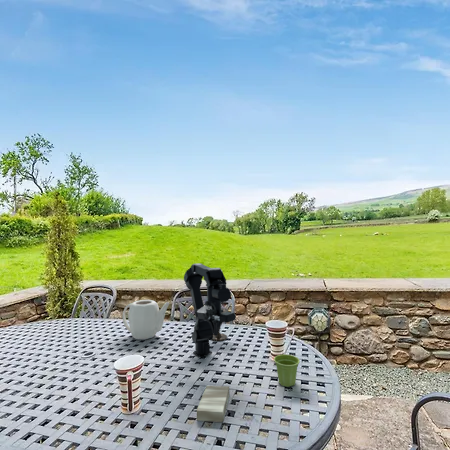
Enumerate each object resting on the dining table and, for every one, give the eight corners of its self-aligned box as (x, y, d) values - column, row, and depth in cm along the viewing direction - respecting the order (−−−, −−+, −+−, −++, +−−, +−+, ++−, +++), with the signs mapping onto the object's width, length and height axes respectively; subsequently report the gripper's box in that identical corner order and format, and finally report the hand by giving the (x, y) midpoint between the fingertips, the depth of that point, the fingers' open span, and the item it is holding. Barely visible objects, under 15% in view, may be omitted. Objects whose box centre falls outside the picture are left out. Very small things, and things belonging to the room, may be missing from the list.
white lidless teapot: (166, 342, 158) (165, 305, 158) (116, 341, 161) (116, 305, 162) (174, 332, 174) (173, 298, 174) (129, 331, 177) (128, 298, 177)
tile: (206, 385, 108) (196, 410, 94) (229, 386, 107) (222, 412, 92) (206, 395, 108) (196, 421, 94) (229, 396, 107) (222, 423, 92)
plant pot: (301, 378, 118) (300, 355, 118) (298, 391, 109) (298, 366, 109) (276, 375, 121) (276, 353, 121) (272, 387, 112) (271, 363, 112)
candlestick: (227, 334, 169) (225, 270, 169) (230, 341, 158) (228, 272, 158) (207, 335, 167) (206, 270, 168) (209, 342, 157) (207, 273, 157)
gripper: (185, 299, 131) (186, 336, 130) (217, 303, 118) (218, 345, 118) (203, 294, 139) (205, 330, 138) (235, 299, 127) (237, 337, 126)
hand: (215, 335), depth 130 cm, fingers closed
